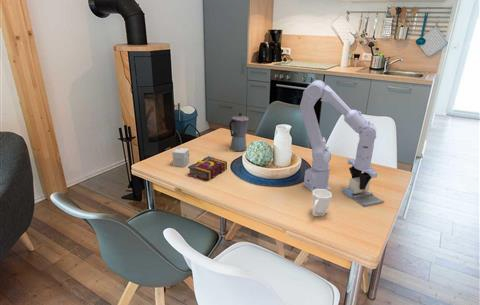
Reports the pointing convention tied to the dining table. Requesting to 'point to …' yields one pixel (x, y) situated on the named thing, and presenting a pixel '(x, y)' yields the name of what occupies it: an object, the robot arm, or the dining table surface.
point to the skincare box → (180, 157)
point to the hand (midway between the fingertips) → (358, 186)
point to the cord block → (357, 185)
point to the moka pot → (238, 132)
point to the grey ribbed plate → (363, 197)
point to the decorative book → (207, 168)
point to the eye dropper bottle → (325, 142)
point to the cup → (321, 201)
